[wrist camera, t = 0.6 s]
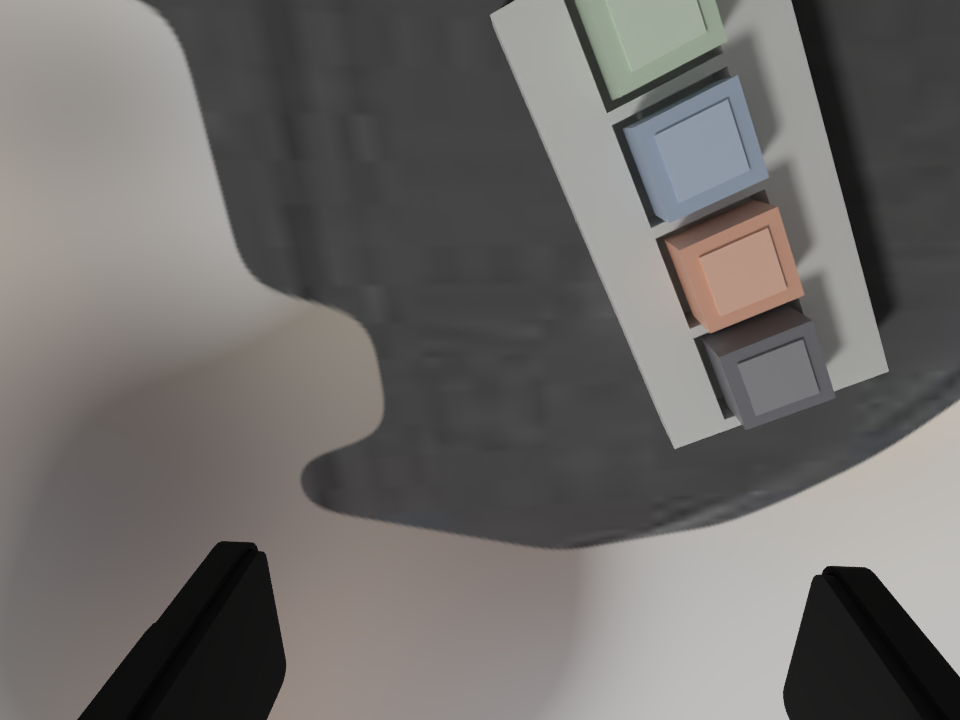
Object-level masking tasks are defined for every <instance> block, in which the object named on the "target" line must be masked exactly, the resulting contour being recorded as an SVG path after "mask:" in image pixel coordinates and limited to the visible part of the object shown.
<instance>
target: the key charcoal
mask: <svg viewBox="0 0 960 720" xmlns="http://www.w3.org/2000/svg"><path fill="white" fill-rule="evenodd" d="M701 338H702V340H703V343H704V346H705V348H706V351H707V354H708V356H709V359H710V361H711V364H712V367H713V369H714V372H715V375H716V377H717V380H718V383H719V385H720V388H721V391H722V393H723V396H724V399H725V401H726V404H727V406H728V407H729V408H730V410H731V411H732V412H733V414H734V415H735V416H736V418H737V419H738V420H739V421H740V423H741V424H742V425H743V427H744V428H745V429H746V430H748V429H751V428H753V427H756V426H759V425H762V424H764V423H767V422H770V421H773V420H776V419H778V418H781V417H784V416H787V415H790V414H792V413H795V412H798V411H801V410H803V409H806V408H809V407H812V406H815V405H817V404H820V403H823V402H826V401H828V400H831V399H834V398H836V397H835V393H834V390H833V387H832V384H831V380H830V377H829V374H828V370H827V367H826V364H825V360H824V357H823V354H822V351H821V347H820V344H819V341H818V337H817V334H816V331H815V328H814V324H813V321H812V320H811V319H809V318H808V317H806V316H805V315H803V314H801V313H800V312H798V311H797V310H795V309H793V308H792V307H790V306H789V305H787V304H786V303H785V304H783V305H780V306H778V307H775V308H773V309H770V310H768V311H765V312H763V313H761V314H758V315H756V316H753V317H751V318H748V319H746V320H743V321H741V322H738V323H736V324H733V325H731V326H728V327H726V328H723V329H721V330H719V331H716V332H714V333H711V334H709V335H706V336H704V337H701Z"/></svg>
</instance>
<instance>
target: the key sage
mask: <svg viewBox="0 0 960 720" xmlns="http://www.w3.org/2000/svg"><path fill="white" fill-rule="evenodd" d="M575 4H576V7H577V10H578V12H579V15H580V17H581V20H582V23H583V25H584V28H585V31H586V33H587V36H588V39H589V41H590V44H591V47H592V49H593V52H594V55H595V57H596V60H597V62H598V65H599V68H600V70H601V73H602V76H603V78H604V81H605V84H606V86H607V89H608V92H609V94H610V97H611V99H612V100H615V99H617V98H619V97H622V96H624V95H626V94H628V93H630V92H631V91H633V90H635V89H637V88H639V87H641V86H643V85H645V84H647V83H649V82H651V81H652V80H654V79H656V78H658V77H660V76H662V75H664V74H666V73H668V72H670V71H672V70H673V69H675V68H677V67H679V66H681V65H683V64H685V63H687V62H689V61H691V60H693V59H694V58H696V57H698V56H700V55H702V54H704V53H706V52H708V51H710V50H712V49H714V48H715V47H717V46H719V45H721V44H723V43H725V42H727V37H726V34H725V31H724V27H723V24H722V21H721V18H720V14H719V11H718V8H717V4H716V1H715V0H575Z"/></svg>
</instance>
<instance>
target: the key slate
mask: <svg viewBox="0 0 960 720" xmlns="http://www.w3.org/2000/svg"><path fill="white" fill-rule="evenodd" d="M623 131H624V134H625V137H626V139H627V142H628V144H629V147H630V150H631V152H632V155H633V158H634V160H635V163H636V166H637V168H638V171H639V174H640V176H641V179H642V182H643V184H644V187H645V189H646V192H647V195H648V197H649V200H650V203H651V205H652V208H653V211H654V213H655V215H656V216H658V217H659V218H661V219H663V220H664V221H666V222H668V223H671V222H673V221H675V220H678V219H680V218H682V217H684V216H686V215H689V214H691V213H693V212H695V211H697V210H699V209H702V208H704V207H706V206H708V205H710V204H713V203H715V202H717V201H719V200H721V199H723V198H726V197H728V196H730V195H732V194H734V193H736V192H739V191H741V190H743V189H745V188H747V187H750V186H752V185H754V184H756V183H758V182H760V181H763V180H765V179H767V178H769V176H768V173H767V169H766V166H765V163H764V159H763V156H762V153H761V149H760V146H759V143H758V140H757V136H756V133H755V130H754V126H753V123H752V120H751V116H750V113H749V110H748V107H747V103H746V100H745V97H744V93H743V90H742V87H741V83H740V80H739V77H738V75H736V76H732V77H729V78H726V79H722V80H719V81H715V82H713V83H711V84H709V85H707V86H706V87H704V88H702V89H700V90H698V91H696V92H694V93H692V94H690V95H688V96H686V97H684V98H682V99H680V100H678V101H676V102H674V103H672V104H670V105H668V106H666V107H664V108H662V109H660V110H658V111H656V112H654V113H652V114H651V115H649V116H647V117H645V118H643V119H641V120H639V121H637V122H635V123H633V124H631V125H629V126H627V127H625V128H623Z"/></svg>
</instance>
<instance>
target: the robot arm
mask: <svg viewBox="0 0 960 720" xmlns="http://www.w3.org/2000/svg"><path fill="white" fill-rule="evenodd" d="M285 672H286V659H285V654H284V648H283V643H282V637H281V632H280V626H279V621H278V616H277V610H276V605H275V600H274V594H273V589H272V584H271V578H270V573H269V568H268V562H267V557H266V554H265V553H264V552H261V551H258V549H257V546H256V545H255V544H254V543H250V542H229V541H228V542H227V541H221V542H219V543H217V544H216V546H215V547H214V548H213V549H212V550H211V552H210V553H209V554H208V555H207V557H206V558H205V559H204V561H203V562H202V563H201V565H200V566H199V567H198V568H197V570H196V571H195V572H194V574H193V575H192V576H191V578H190V579H189V580H188V581H187V583H186V584H185V585H184V587H183V588H182V589H181V591H180V592H179V593H178V594H177V596H176V597H175V598H174V600H173V601H172V602H171V604H170V605H169V606H168V608H167V609H166V610H165V611H164V613H163V614H162V615H161V617H160V618H159V619H158V620H157V622H156V623H154V624H152V626H151V627H150V628H149V629H148V630H147V631H146V632H145V633H144V634H143V636H142V637H141V638H140V640H139V641H138V642H137V643H136V645H135V646H134V647H133V649H132V650H131V651H130V652H129V654H128V655H127V656H126V658H125V659H124V660H123V661H122V663H121V664H120V665H119V667H118V668H117V669H116V670H115V672H114V673H113V674H112V676H111V677H110V678H109V679H108V681H107V682H106V683H105V685H104V686H103V687H102V689H101V690H100V691H99V692H98V694H97V695H96V696H95V698H94V699H93V700H92V701H91V703H90V704H89V705H88V707H87V708H86V709H85V711H84V712H83V713H82V714H81V716H80V717H79V718H78V719H77V720H267V718H268V715H269V713H270V711H271V709H272V707H273V704H274V702H275V700H276V698H277V695H278V693H279V691H280V688H281V686H282V684H283V681H284V677H285ZM783 699H784V705H785V709H786V712H787V715H788V717H789V719H790V720H960V677H959V676H958V674H957V673H956V672H955V671H954V670H953V668H952V667H951V666H950V665H949V663H948V662H947V661H946V660H945V659H944V657H943V656H942V655H941V654H940V653H939V651H938V650H937V649H936V648H935V647H934V645H933V644H932V643H931V642H930V640H929V639H928V638H927V637H926V636H925V634H924V633H923V632H922V631H921V629H920V628H919V627H918V626H917V625H916V623H915V622H914V621H913V620H912V619H911V618H910V616H909V615H908V614H907V612H906V611H905V610H904V609H903V608H902V606H901V605H900V604H899V603H898V602H897V600H896V599H895V598H894V597H893V596H892V594H891V593H890V592H889V591H888V590H887V588H886V587H885V586H884V585H883V583H882V582H881V581H880V580H879V579H878V577H877V576H876V575H875V574H874V573H873V572H872V571H871V570H870V569H867V568H865V567H842V566H827V567H826V568H825V569H824V570H823V573H822V575H816V576H814V578H813V580H812V583H811V587H810V591H809V594H808V598H807V602H806V606H805V610H804V613H803V617H802V621H801V625H800V629H799V632H798V636H797V640H796V644H795V647H794V651H793V655H792V659H791V663H790V666H789V670H788V674H787V678H786V682H785V686H784V691H783Z"/></svg>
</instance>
